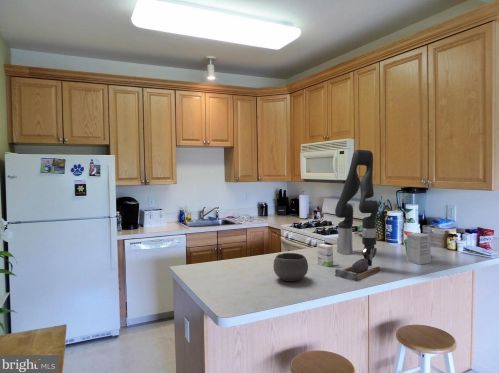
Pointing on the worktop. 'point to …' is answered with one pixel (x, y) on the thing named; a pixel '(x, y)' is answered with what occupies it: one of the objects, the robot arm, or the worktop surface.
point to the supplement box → (418, 248)
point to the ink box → (325, 254)
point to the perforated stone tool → (360, 266)
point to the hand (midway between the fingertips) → (369, 265)
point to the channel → (350, 275)
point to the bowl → (290, 266)
